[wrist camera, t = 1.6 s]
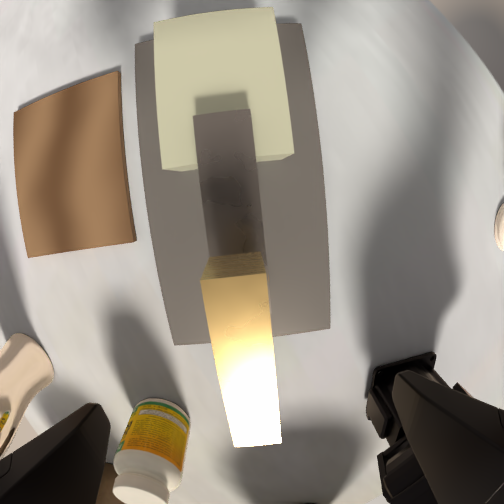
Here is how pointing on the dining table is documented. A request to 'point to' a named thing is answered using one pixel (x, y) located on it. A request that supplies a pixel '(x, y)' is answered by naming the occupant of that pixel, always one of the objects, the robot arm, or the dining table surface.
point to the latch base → (272, 205)
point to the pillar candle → (108, 486)
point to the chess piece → (500, 228)
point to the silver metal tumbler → (20, 382)
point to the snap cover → (220, 80)
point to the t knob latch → (237, 276)
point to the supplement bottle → (151, 453)
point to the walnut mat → (73, 169)
